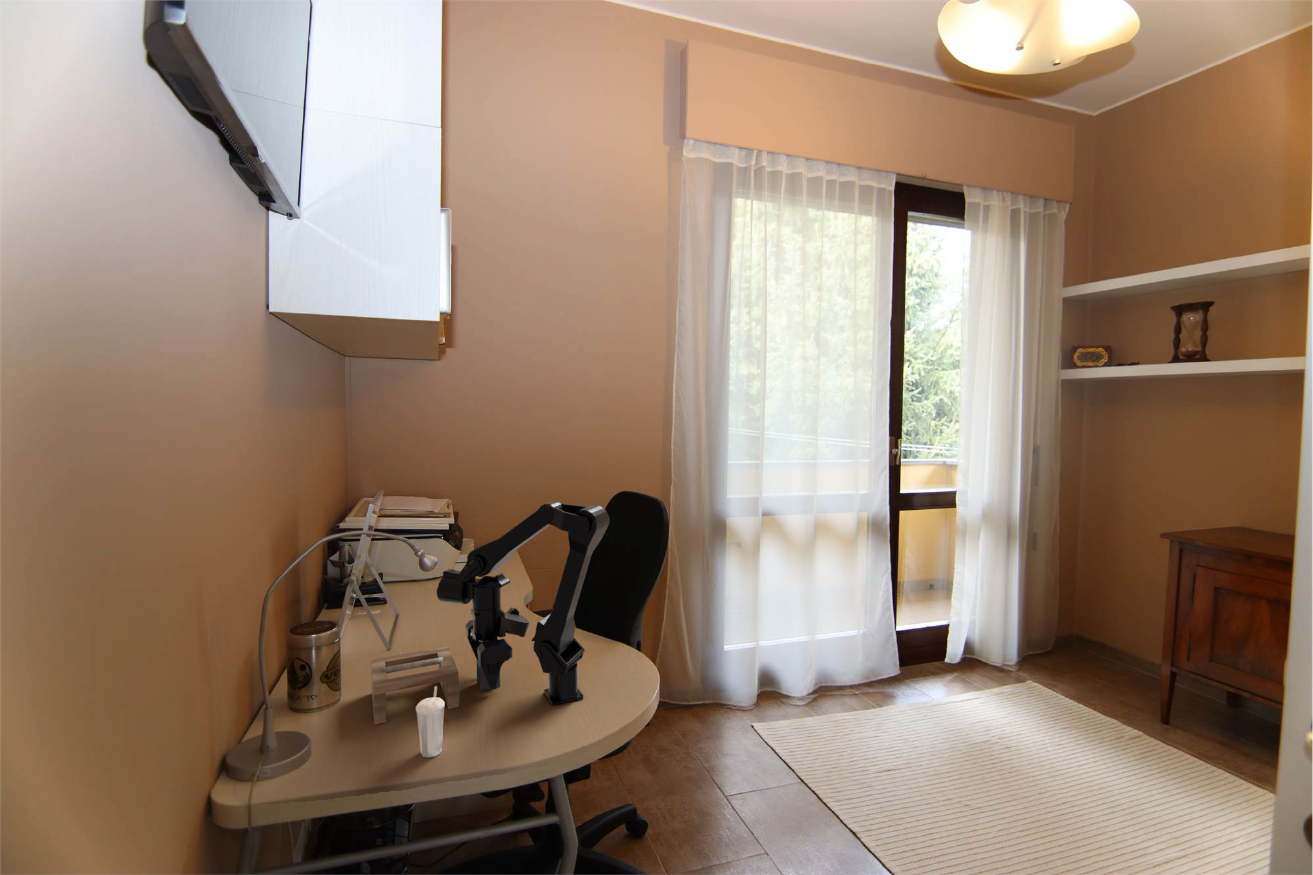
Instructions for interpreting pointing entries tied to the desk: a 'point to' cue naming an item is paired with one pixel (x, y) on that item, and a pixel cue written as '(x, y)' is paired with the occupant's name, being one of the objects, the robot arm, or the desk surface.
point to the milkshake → (430, 725)
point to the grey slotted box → (484, 679)
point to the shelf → (413, 677)
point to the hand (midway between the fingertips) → (488, 678)
